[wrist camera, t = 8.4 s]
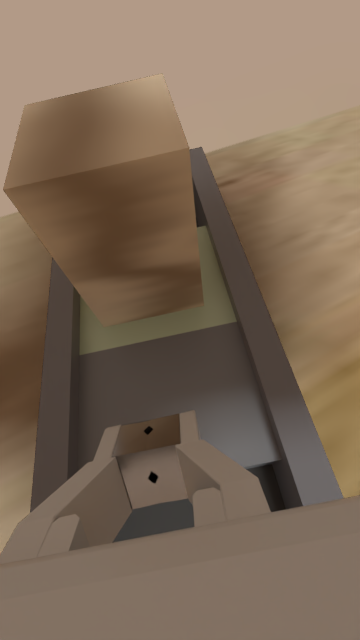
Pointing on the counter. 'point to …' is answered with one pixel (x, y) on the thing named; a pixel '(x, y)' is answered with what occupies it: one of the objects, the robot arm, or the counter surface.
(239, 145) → the counter surface
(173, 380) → the box
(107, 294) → the block
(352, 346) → the counter surface
